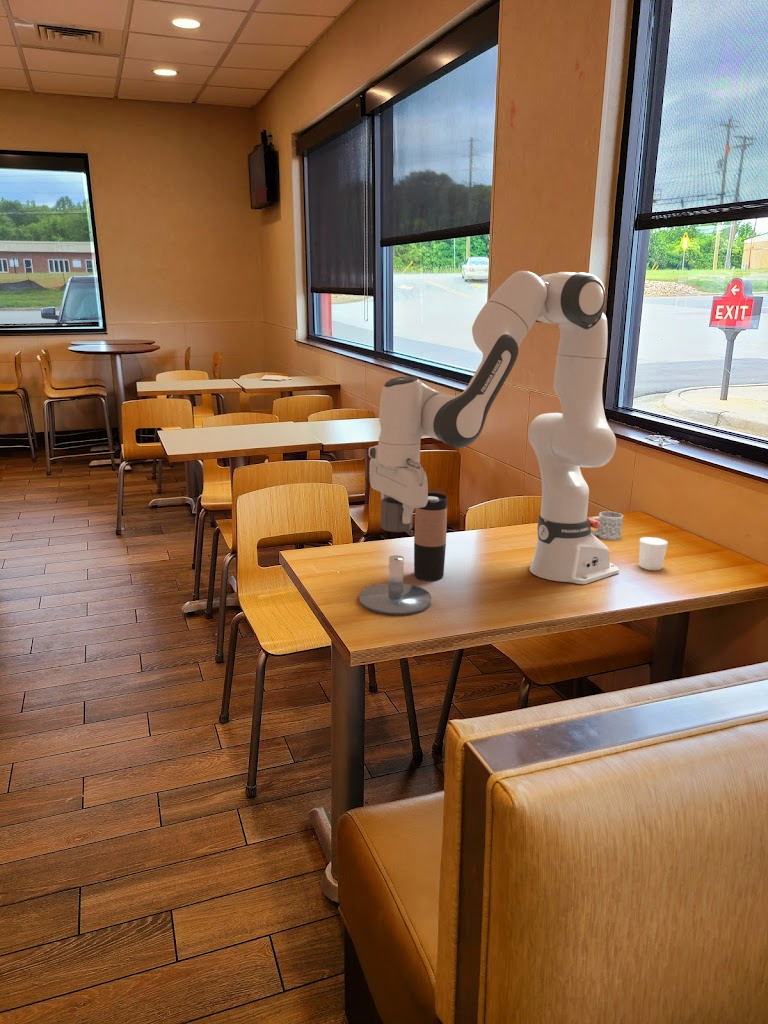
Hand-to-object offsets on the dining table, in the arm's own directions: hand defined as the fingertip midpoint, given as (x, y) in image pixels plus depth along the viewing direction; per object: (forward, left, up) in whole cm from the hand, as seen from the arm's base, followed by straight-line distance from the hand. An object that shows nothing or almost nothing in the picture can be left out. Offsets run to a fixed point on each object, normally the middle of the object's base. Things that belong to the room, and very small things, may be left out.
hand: (396, 518), depth 163 cm
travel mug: (-15, -11, -19) cm, 27 cm away
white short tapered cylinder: (-71, +6, -20) cm, 74 cm away
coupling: (0, 0, -2) cm, 2 cm away
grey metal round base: (0, 0, -19) cm, 19 cm away
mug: (-78, -19, -20) cm, 83 cm away
